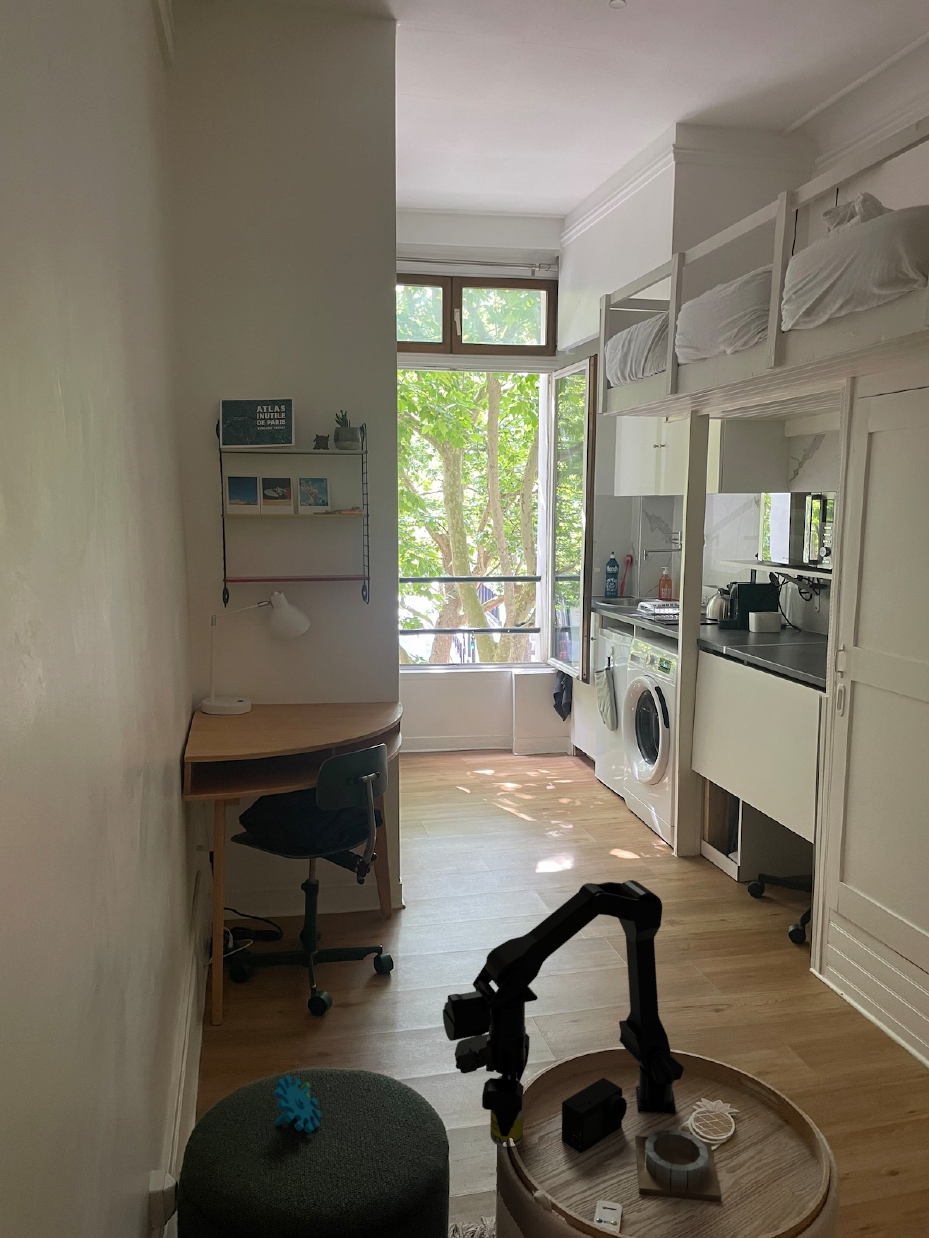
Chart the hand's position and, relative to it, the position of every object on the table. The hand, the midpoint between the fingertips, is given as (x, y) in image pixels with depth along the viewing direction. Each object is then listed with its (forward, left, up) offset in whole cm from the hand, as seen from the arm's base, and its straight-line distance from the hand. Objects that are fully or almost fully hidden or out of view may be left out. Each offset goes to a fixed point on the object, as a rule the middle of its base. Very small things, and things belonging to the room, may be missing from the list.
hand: (507, 1117), depth 149 cm
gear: (+1, -35, -4) cm, 36 cm away
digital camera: (-2, +14, -4) cm, 15 cm away
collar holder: (+4, +27, -4) cm, 28 cm away
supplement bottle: (0, 0, -4) cm, 4 cm away
